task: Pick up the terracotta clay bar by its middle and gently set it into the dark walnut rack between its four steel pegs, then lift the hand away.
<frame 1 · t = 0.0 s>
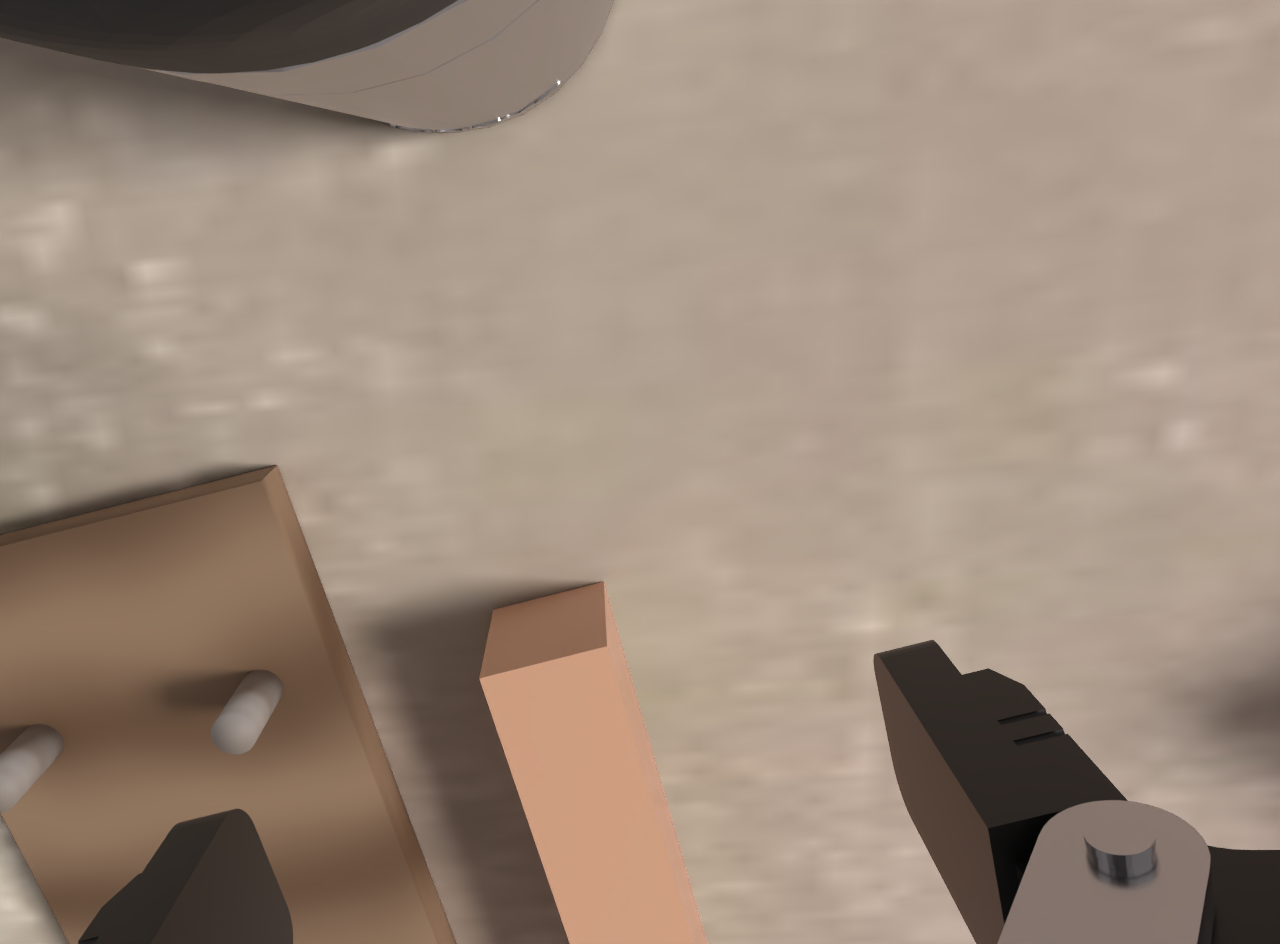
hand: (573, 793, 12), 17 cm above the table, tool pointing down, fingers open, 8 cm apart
rack: (242, 847, 32), on the table
clay strip: (614, 805, 33), on the table
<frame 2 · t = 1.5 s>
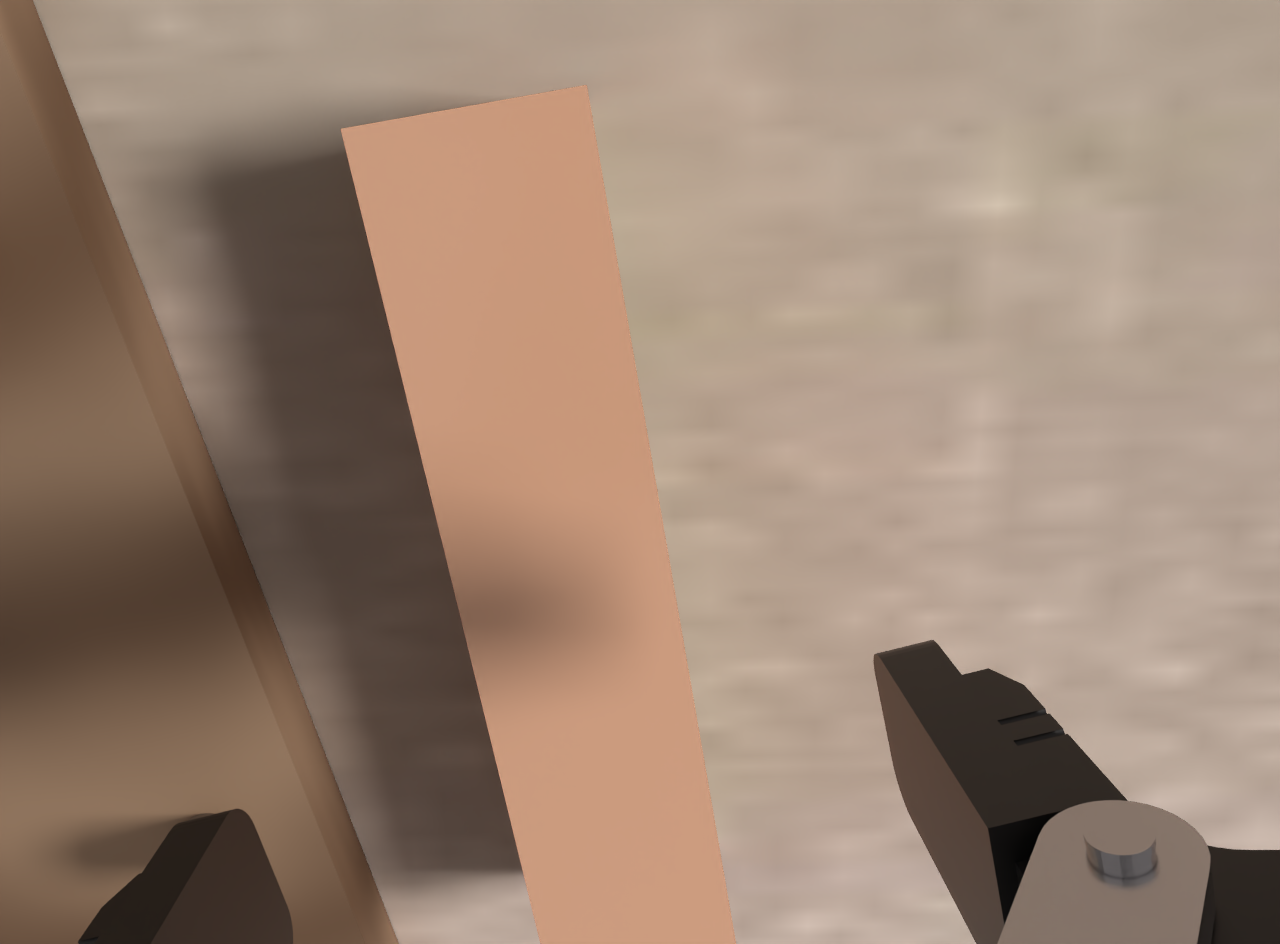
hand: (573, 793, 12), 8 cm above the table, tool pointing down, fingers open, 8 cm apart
clay strip: (574, 527, 20), on the table
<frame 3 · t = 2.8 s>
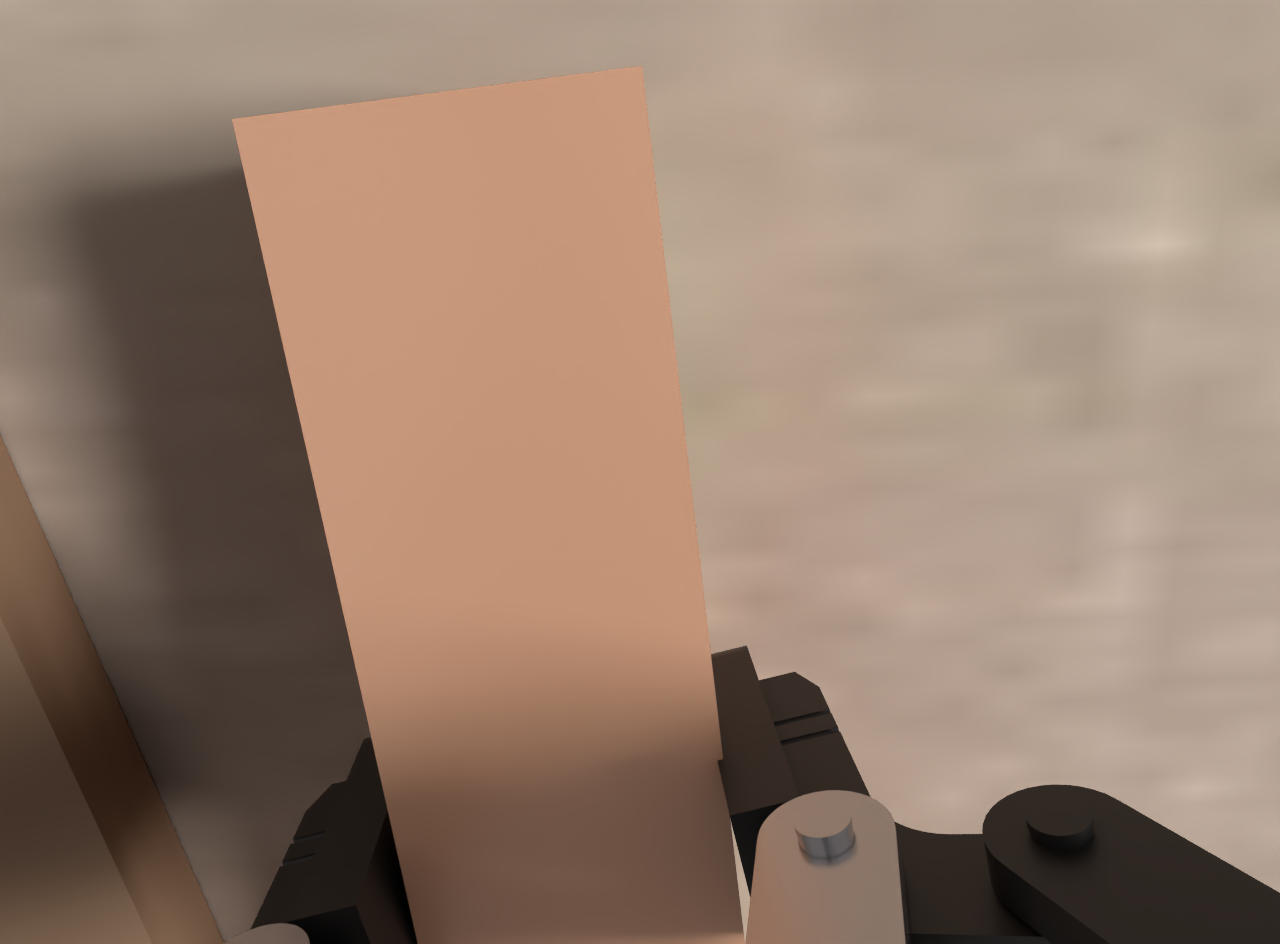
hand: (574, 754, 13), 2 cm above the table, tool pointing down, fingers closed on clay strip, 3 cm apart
clay strip: (578, 686, 15), on the table, touching gripper
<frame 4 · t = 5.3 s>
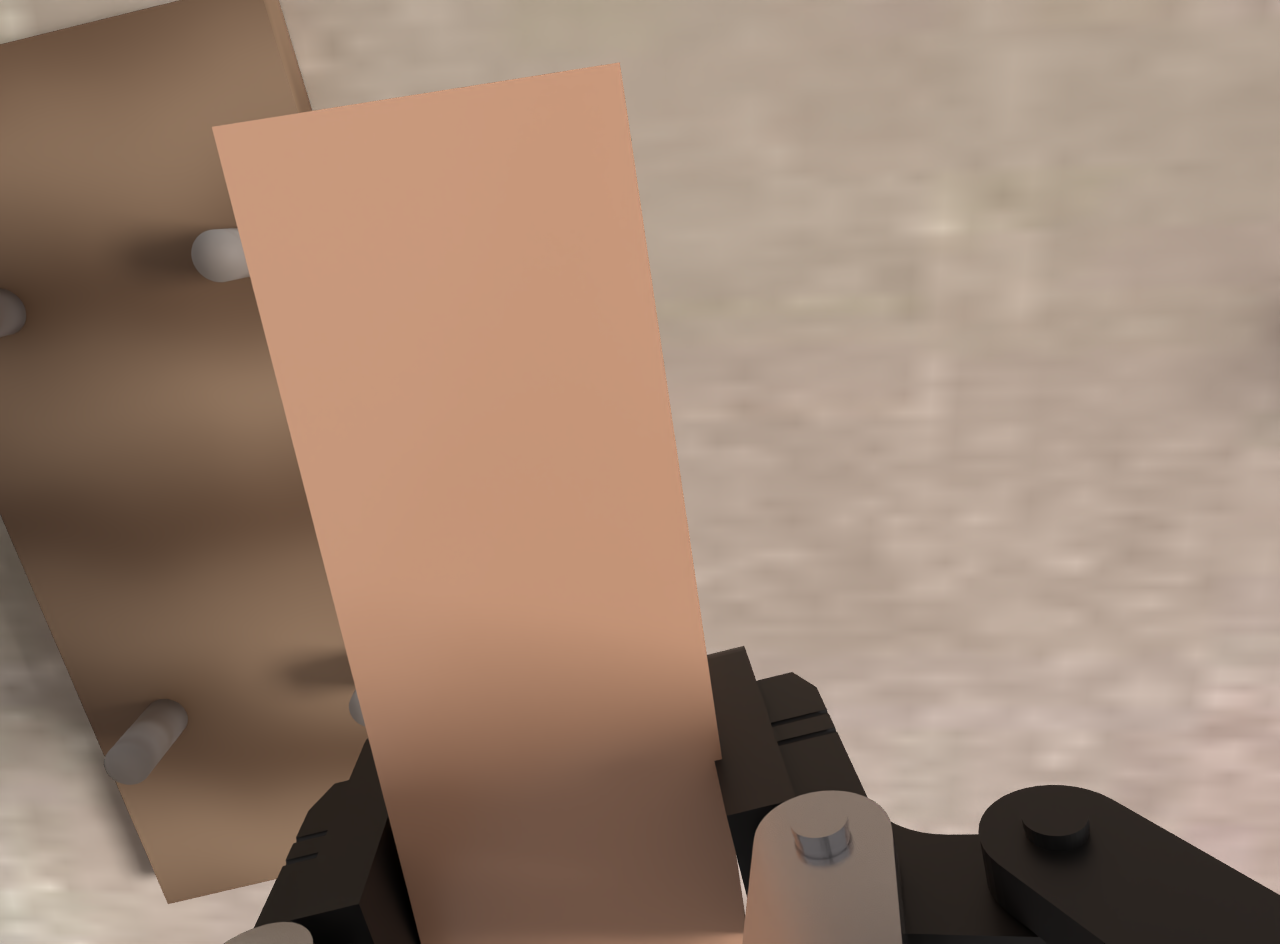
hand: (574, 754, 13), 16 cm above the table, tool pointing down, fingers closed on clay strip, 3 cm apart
rack: (226, 483, 28), on the table
clay strip: (579, 685, 15), point 14 cm above the table, touching gripper
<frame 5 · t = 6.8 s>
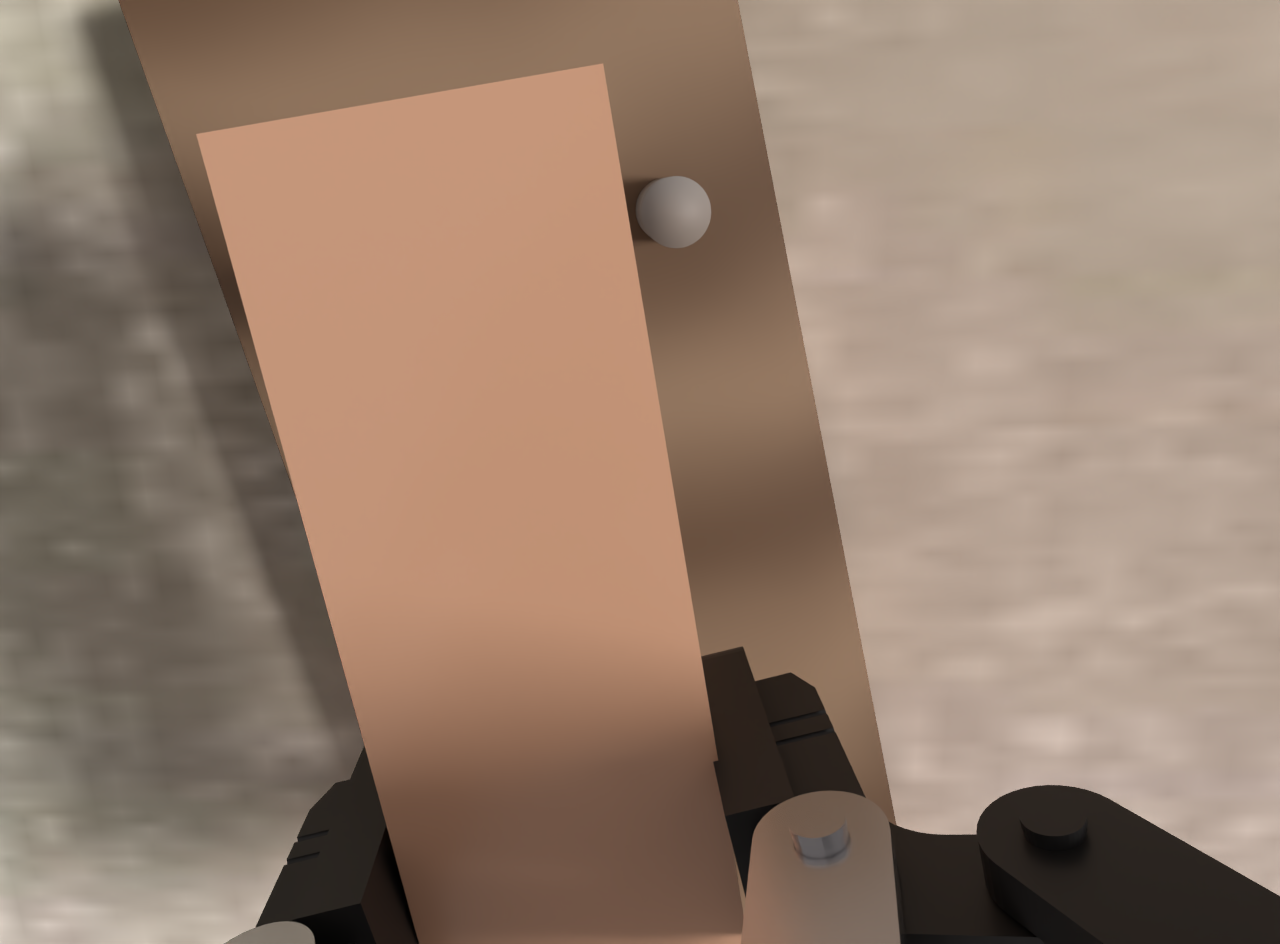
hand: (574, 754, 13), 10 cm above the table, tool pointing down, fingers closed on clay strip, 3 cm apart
rack: (577, 507, 23), on the table
clay strip: (578, 686, 15), point 8 cm above the table, touching gripper
when the fingers open (5 cm above the table, at t = 8.1 s): clay strip drops 1 cm, resting on rack.
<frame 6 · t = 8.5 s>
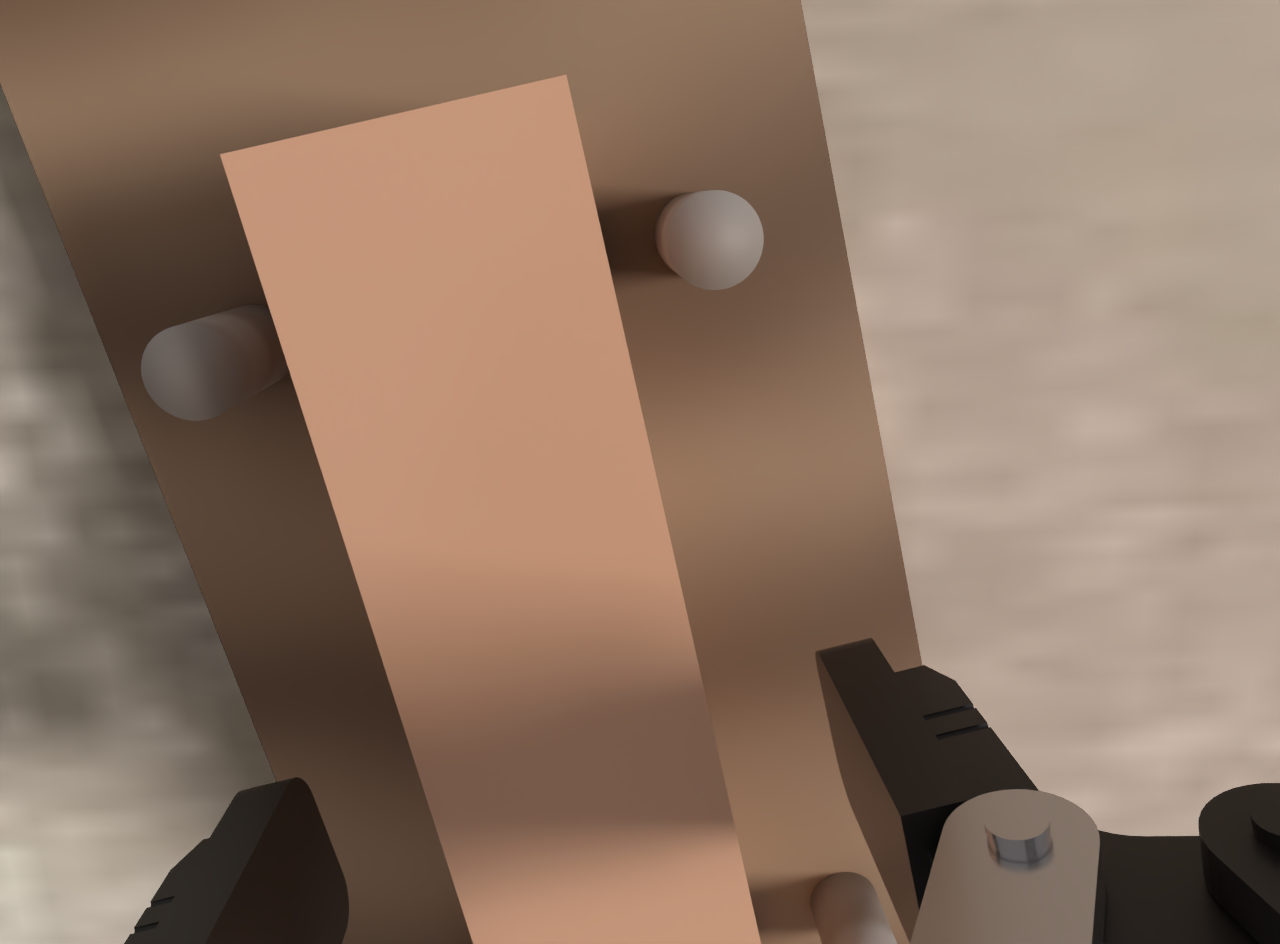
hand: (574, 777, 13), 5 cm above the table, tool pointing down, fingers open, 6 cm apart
rack: (579, 612, 18), on the table
clay strip: (583, 643, 16), point 1 cm above the table, touching rack
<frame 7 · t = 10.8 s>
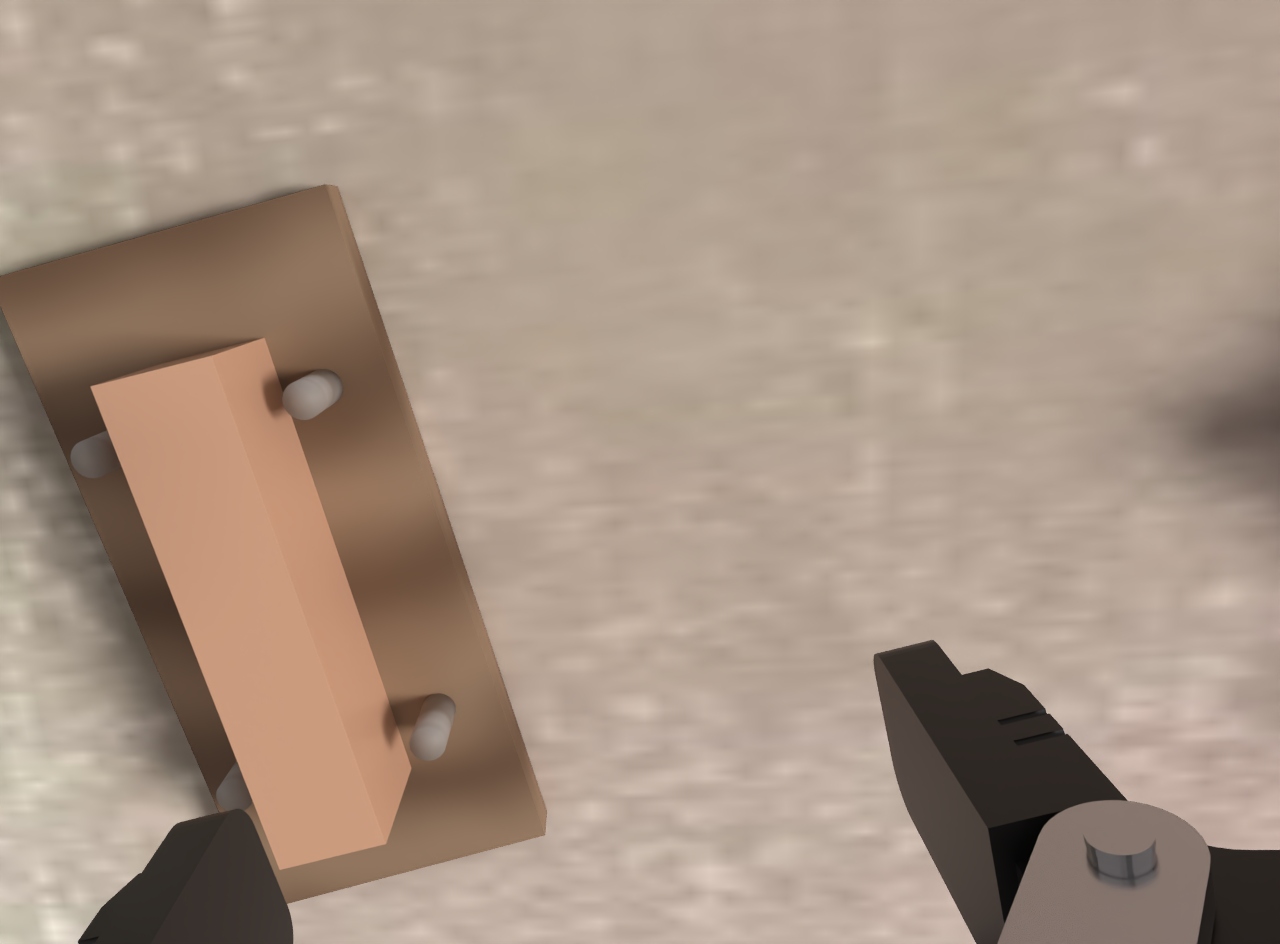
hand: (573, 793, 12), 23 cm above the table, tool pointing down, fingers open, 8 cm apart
rack: (302, 565, 35), on the table
clay strip: (292, 577, 34), point 1 cm above the table, touching rack
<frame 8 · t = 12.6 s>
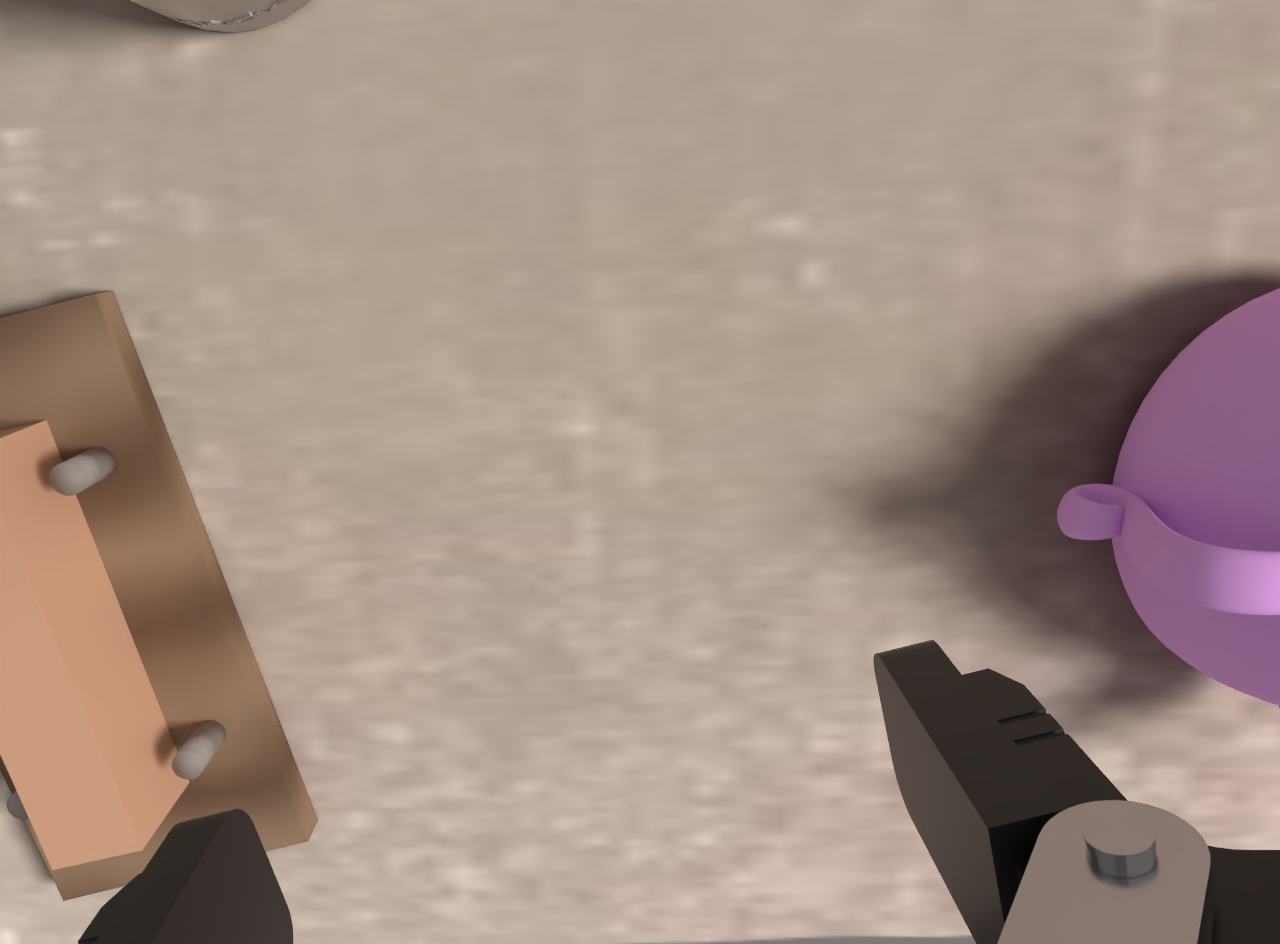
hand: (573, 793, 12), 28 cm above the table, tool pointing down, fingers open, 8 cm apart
teapot: (1267, 521, 43), on the table
rack: (95, 608, 41), on the table
clay strip: (79, 620, 39), point 1 cm above the table, touching rack
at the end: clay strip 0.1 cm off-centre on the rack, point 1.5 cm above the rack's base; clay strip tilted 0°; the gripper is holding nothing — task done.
